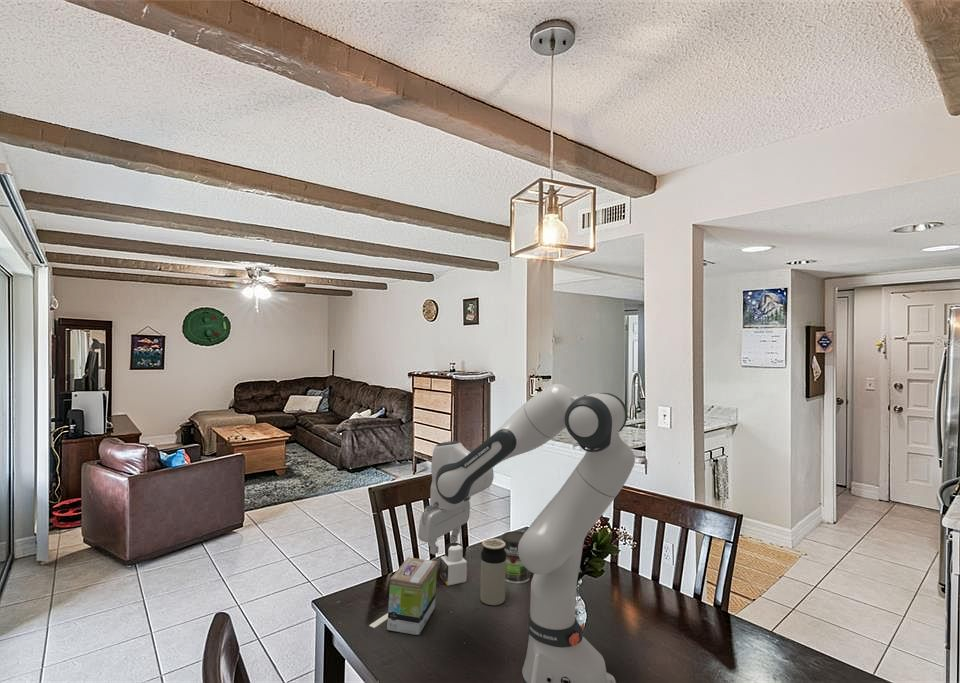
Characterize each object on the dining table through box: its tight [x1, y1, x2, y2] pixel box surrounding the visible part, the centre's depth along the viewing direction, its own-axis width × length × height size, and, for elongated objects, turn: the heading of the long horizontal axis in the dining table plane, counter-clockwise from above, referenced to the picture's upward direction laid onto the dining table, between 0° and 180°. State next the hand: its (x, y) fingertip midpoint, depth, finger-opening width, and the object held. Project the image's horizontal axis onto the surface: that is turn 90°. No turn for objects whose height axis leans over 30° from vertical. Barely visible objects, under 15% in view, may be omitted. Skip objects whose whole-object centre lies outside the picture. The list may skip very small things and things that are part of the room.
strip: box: [368, 612, 388, 629], centre depth 146 cm, size 2×17×1 cm, turn 149°
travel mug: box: [479, 538, 506, 606], centre depth 155 cm, size 8×8×18 cm
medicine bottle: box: [439, 542, 468, 586], centre depth 168 cm, size 7×7×12 cm
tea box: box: [386, 556, 438, 636], centre depth 143 cm, size 15×10×15 cm
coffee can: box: [501, 530, 531, 585], centre depth 171 cm, size 10×10×14 cm
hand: (444, 547), depth 138 cm, fingers open, 8 cm apart
